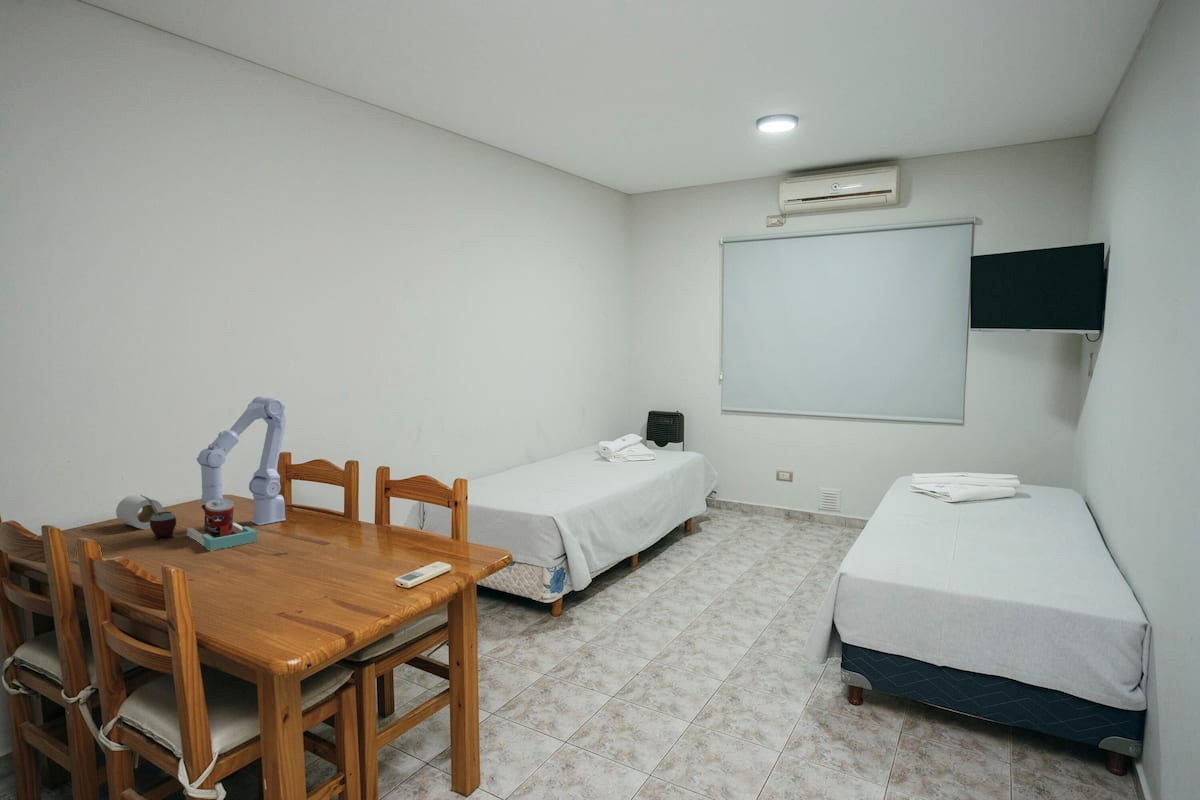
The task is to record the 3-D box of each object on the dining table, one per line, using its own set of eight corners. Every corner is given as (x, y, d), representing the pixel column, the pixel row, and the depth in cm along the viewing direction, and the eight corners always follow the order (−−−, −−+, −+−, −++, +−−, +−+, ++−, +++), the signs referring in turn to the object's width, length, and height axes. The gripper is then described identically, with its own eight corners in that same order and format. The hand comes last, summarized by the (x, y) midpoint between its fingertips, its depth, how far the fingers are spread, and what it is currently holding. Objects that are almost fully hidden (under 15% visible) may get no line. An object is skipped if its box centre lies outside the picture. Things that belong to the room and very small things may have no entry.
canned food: (198, 533, 215) (199, 503, 212) (221, 524, 222) (223, 495, 219) (214, 542, 212) (215, 512, 209) (237, 533, 219) (238, 504, 216)
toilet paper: (163, 525, 229) (162, 496, 228) (131, 532, 220) (130, 502, 219) (149, 520, 234) (147, 492, 233) (116, 527, 225) (115, 498, 224)
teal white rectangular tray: (231, 527, 227) (231, 517, 227) (257, 541, 213) (256, 531, 213) (186, 536, 217) (186, 525, 217) (210, 551, 203) (210, 540, 203)
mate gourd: (181, 535, 218) (179, 490, 217) (163, 542, 210) (161, 496, 209) (160, 534, 219) (158, 489, 217) (141, 541, 211) (139, 494, 210)
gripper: (190, 483, 220) (192, 523, 221) (206, 490, 211) (207, 532, 212) (214, 480, 225) (215, 519, 227) (230, 487, 216) (231, 528, 217)
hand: (213, 525), depth 220 cm, fingers closed
